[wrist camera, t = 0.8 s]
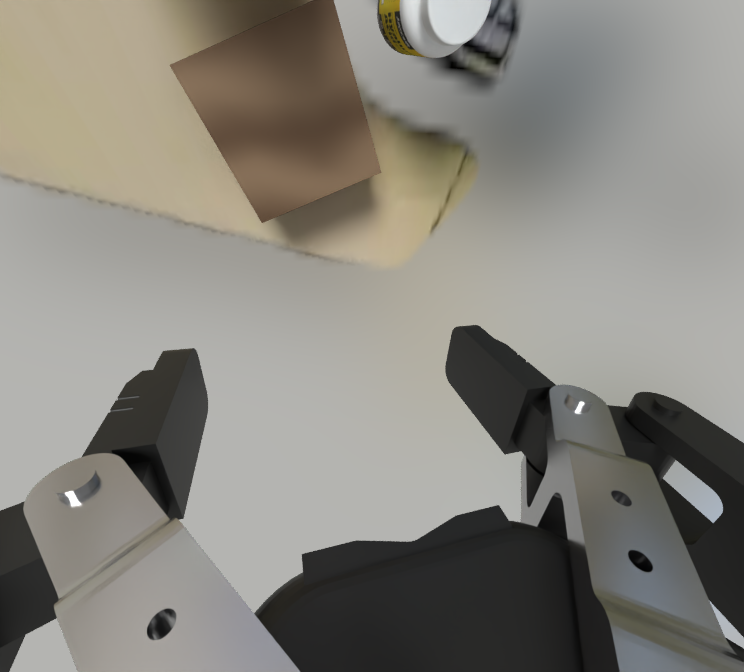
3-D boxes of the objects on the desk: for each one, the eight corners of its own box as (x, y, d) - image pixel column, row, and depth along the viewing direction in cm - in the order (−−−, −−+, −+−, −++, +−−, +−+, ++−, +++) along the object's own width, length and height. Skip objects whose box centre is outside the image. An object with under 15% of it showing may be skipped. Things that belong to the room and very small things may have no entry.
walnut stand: (186, 61, 25) (169, 65, 21) (320, 1, 25) (331, -8, 20) (262, 199, 32) (262, 223, 28) (365, 154, 32) (381, 172, 28)
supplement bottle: (361, 21, 26) (397, 12, 19) (403, -65, 23) (462, -112, 16) (412, 71, 29) (459, 80, 21) (454, -1, 26) (523, -17, 19)
